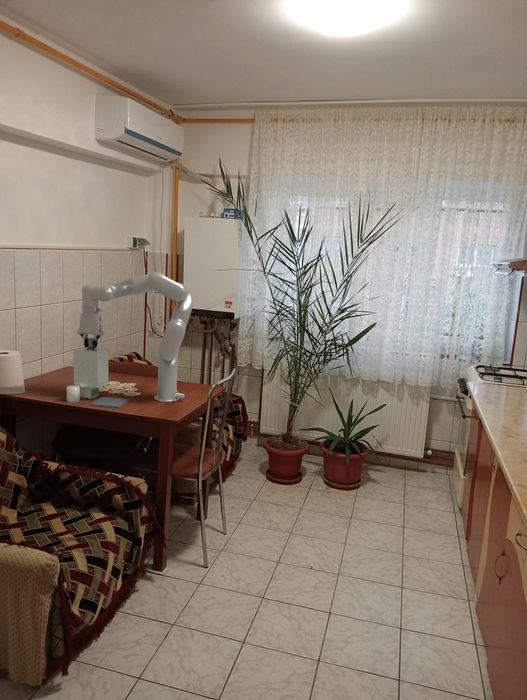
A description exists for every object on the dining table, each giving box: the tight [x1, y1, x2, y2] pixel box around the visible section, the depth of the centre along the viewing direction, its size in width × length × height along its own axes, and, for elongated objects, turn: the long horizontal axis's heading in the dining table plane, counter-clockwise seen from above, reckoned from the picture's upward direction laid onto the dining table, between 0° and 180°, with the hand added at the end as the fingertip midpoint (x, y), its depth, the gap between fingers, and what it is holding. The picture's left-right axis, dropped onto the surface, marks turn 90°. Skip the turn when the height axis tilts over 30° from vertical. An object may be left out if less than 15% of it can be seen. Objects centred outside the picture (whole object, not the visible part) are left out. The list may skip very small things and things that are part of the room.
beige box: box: [72, 337, 109, 388], centre depth 269 cm, size 12×13×23 cm
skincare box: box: [80, 387, 100, 400], centre depth 270 cm, size 8×7×16 cm
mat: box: [90, 396, 130, 409], centre depth 262 cm, size 14×14×1 cm
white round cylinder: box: [66, 384, 81, 403], centre depth 262 cm, size 6×6×7 cm
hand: (90, 347), depth 267 cm, fingers closed on beige box, 3 cm apart
